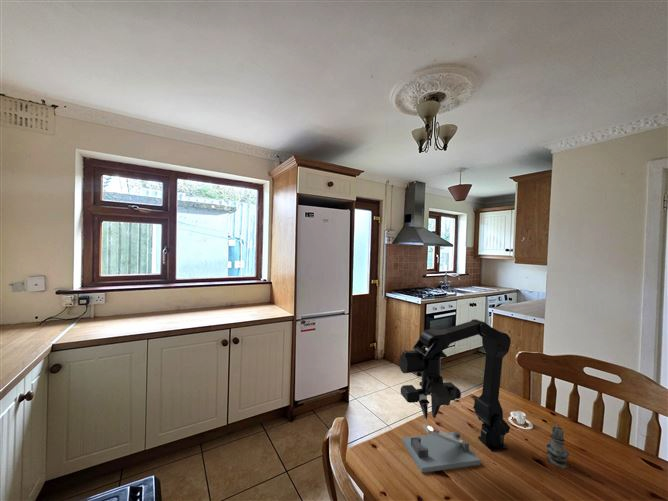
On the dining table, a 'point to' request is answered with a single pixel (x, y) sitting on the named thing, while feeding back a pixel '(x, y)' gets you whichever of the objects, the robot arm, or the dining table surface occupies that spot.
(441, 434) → the light grey long bar
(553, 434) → the grey tiered tower figurine
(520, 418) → the teacup and saucer
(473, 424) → the dining table surface
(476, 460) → the base plate
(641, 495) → the dining table surface
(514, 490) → the dining table surface
